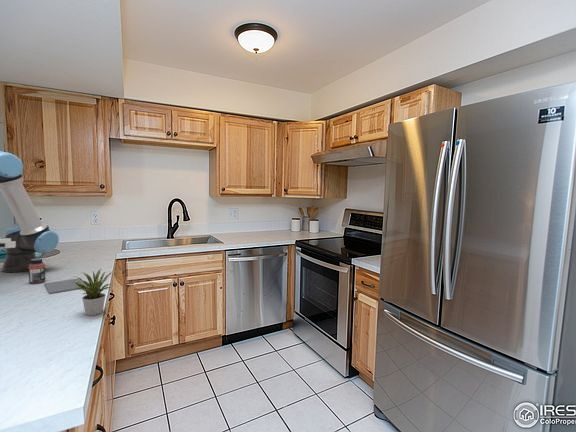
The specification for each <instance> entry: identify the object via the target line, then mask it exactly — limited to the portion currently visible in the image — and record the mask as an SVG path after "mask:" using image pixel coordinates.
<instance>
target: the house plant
mask: <svg viewBox="0 0 576 432" xmlns="http://www.w3.org/2000/svg"><path fill="white" fill-rule="evenodd" d="M101 270H102V268H99V269H98V270H97V272H96V274H95V271H92V273H93V274H92V277H91V276H90V275H89V274H88V273H86V272H81V271H80V273H81V274H82V275H84V276H85V277H86V279H87V281H86V280H84V279H82V278H81V277H78V276H72V277H74V278H75V279H77V278H78V279H80V278H81V279H80V280H81V281H83V282H84V283H85V285H86V286H87V287H88V288H87V287H85V286H84V285H83V284H81V283H79V282H77V281H73V282H74V283H76V285H77V286H79V287H78V288H80V289H79V291H83V293H82V295H81V296H83V295H84V296H83V297H82V298H81V299H82V303H83V308H84V312H85V315H86V316H89V315H91V316H97V315H100V314H101V313H103V310H104V305H105V299H106V294H105V293H103V291H105V290H107V289H110V288H112V287H111V286H112V284H110V283H106V284H104V283H105V282H106V281H107V280H108V278H110V277H111V275H112V274H113V273H115V272H118V271H119V269H118V270H114V271H111V272H108V274H106V271H105V272H103V273H102V274H101ZM100 274H101V275H100ZM105 274H106V275H105ZM92 278H93V279H92ZM103 284H104V285H103ZM75 289H77V288H75ZM77 290H78V289H77ZM96 314H97V315H96Z"/></svg>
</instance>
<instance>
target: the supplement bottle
mask: <svg viewBox="0 0 576 432" xmlns="http://www.w3.org/2000/svg"><path fill="white" fill-rule="evenodd" d="M28 282H29V284H31V285H37V284H42V283H44V282H45V283H46V264H45V262H43V258H40V257H39V258H38V257H37V258H36V259H32V260H31V264H30V265H29V271H28Z"/></svg>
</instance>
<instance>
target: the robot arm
mask: <svg viewBox="0 0 576 432" xmlns="http://www.w3.org/2000/svg"><path fill="white" fill-rule="evenodd" d="M23 170H24V164H23V162H22V161H21V159H20V158H19V157H18V156H16V155H15V154H12V153H11V152H7V151H5V152H4V151H0V193H1V194H2V196H3V198H4V200H5V201H6V203H7V205H8V207H9V209H10V210H11V213H12V214H13V216H14V218H15V220H16V221H17V224H18V225H19V227H12V228H11V227H10V228H8V229H6V230H5V235H4V237H5V238H0V249H5V250H6V251H5V254H6V255H5V258H4V261H3V264H2V266H1V272H3V273H22V272H29V265H30V264H31V260H32V259H36V258H38V257H37V255H36V253H39V254H42V253H45V254H46V253H50V252H52V251H53V250H55V249H56V248H57V246H58V244H59V241H60V238H59V235H58V234H57V232H54V231H52V230H51V229H50V228H49V226H48V224H47V223H44V222H42V220H41V218H40V215H39V214H38V211H37V210H36V208H35V206H34V204H33V202H32V200H31V198H30V195H28V192H27V190H26V188H25V186H24V185H23V182H22V179H23V178H24V176H23V175H22V173H23Z"/></svg>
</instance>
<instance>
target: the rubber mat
mask: <svg viewBox="0 0 576 432" xmlns="http://www.w3.org/2000/svg"><path fill="white" fill-rule="evenodd" d="M78 278H80V279H82V278H81V277H78ZM78 278H72V279H70V278H69V279H66V280H65V279H64V280H57V281H52V282H45V283H44V282H43V283H44V287H45V288H46V290H47V293H48V295H53V294H58V293H64V292H71V291H76V290H80V288H78V287H79V286H77V285H76V283H74V282H73V281H77V282H79V283H81V284H83V285H84V286H85V287H87V286H86V285H85V283H84V282H83V281H81V280H80V279H78ZM75 288H77V289H75ZM87 288H88V287H87Z"/></svg>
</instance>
